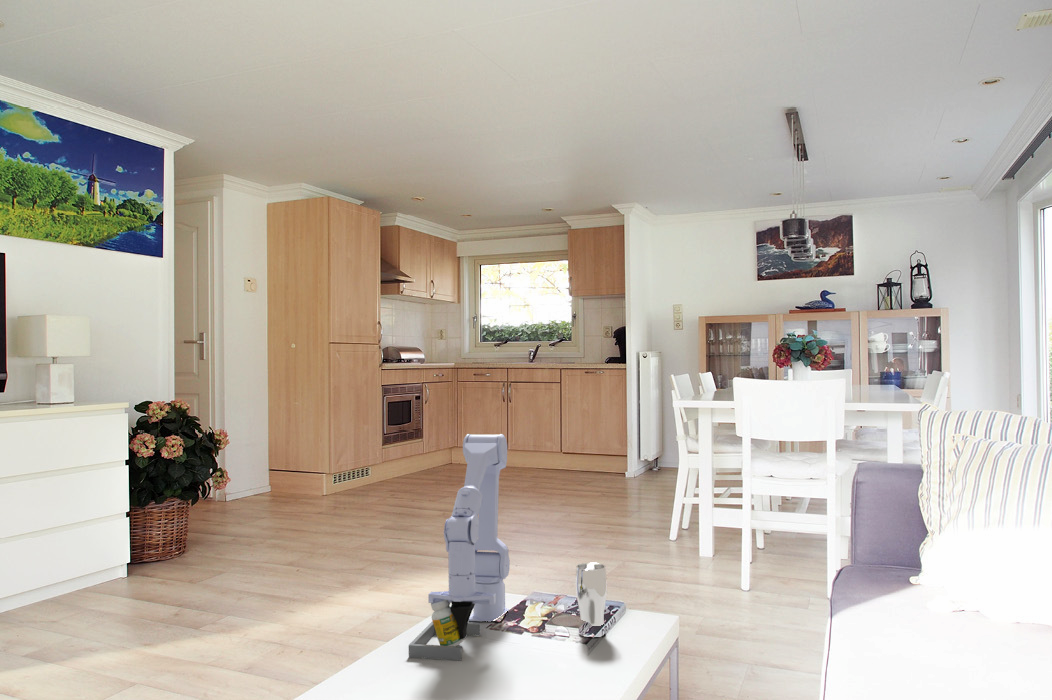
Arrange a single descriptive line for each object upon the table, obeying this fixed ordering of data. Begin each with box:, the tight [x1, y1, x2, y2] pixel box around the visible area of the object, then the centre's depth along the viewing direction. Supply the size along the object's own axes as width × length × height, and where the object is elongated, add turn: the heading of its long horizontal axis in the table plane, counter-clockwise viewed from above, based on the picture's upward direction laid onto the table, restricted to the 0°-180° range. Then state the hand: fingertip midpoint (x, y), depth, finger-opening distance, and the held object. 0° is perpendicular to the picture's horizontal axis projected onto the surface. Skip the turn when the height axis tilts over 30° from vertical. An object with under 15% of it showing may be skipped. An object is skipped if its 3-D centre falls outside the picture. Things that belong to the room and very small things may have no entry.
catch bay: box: [408, 620, 481, 661], centre depth 161 cm, size 16×11×2 cm
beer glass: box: [575, 562, 608, 626], centre depth 167 cm, size 7×7×15 cm
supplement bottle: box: [430, 599, 465, 646], centre depth 160 cm, size 5×5×10 cm
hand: (462, 637), depth 159 cm, fingers closed, pressing on supplement bottle
